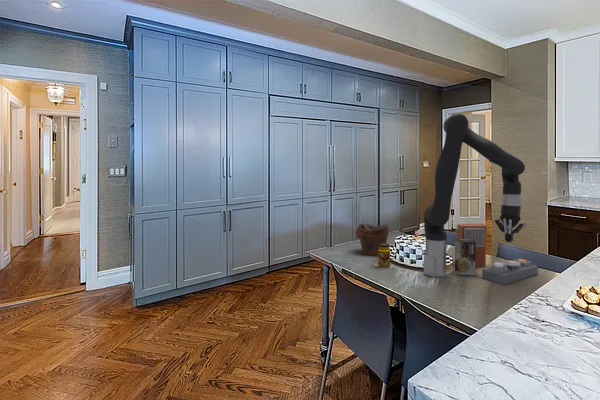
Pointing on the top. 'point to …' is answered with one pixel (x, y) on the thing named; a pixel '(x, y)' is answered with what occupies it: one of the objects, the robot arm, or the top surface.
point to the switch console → (510, 272)
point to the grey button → (498, 265)
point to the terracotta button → (522, 260)
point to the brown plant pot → (372, 237)
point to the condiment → (383, 256)
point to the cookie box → (465, 256)
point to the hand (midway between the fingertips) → (508, 241)
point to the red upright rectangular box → (477, 234)
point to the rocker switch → (511, 263)
